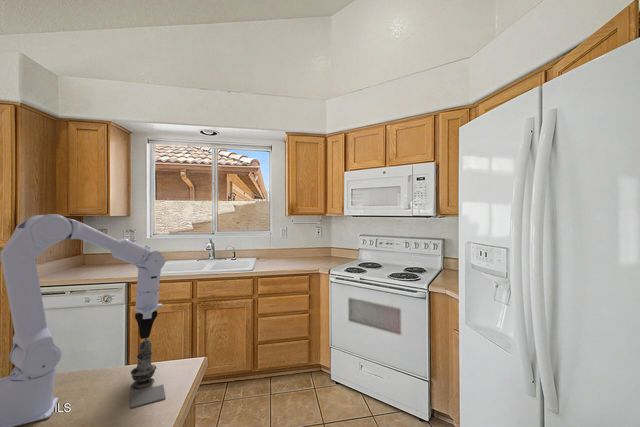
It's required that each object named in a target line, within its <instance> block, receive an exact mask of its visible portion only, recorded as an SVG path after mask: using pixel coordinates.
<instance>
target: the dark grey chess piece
mask: <svg viewBox="0 0 640 427" xmlns="http://www.w3.org/2000/svg"><path fill="white" fill-rule="evenodd" d="M152 355H153V352H152V341H151V340H148V338H144V340H143V341H141V342H140V343H139V347H138V354H137V356H136V358H137V365H136V367H135V368H132V370H130V375H131V378H132V380H133V381H134V382H132V384H131V385H130V388H131V389H133V390H143V389H146V388H149V387H150V386H152V385H153V384H154V383H155V379H154V378H152V377H153V376H154V374H155V372H156V370H157V366H156V365H155V364H152Z"/></svg>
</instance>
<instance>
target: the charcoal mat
mask: <svg viewBox="0 0 640 427" xmlns="http://www.w3.org/2000/svg"><path fill="white" fill-rule="evenodd" d="M164 400H166V392H165V387H164V384H159V385H156V386H151V387H146V388H142V389H138V390H136V391H131V392H130V409H134V408H137V407H141V406H146V405H149V404H152V403H157V402H159V401H164Z"/></svg>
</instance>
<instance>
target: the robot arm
mask: <svg viewBox="0 0 640 427" xmlns="http://www.w3.org/2000/svg"><path fill="white" fill-rule="evenodd" d="M65 239H66V240H67V239H68V240H80V241H83V242H86V243H89V244H92V245H94V246H97V247H100V248H103V249H106V250H108V251H110V253H111V256H112V257H113V258H115V259H118V260H120V261H123V262H125V263H129V264H131V265H132V266H135V267H136V268H137V269H138V271H137V279H136V280H137V282H136V293H135V306H134V309H133V310H134V311H135V312H136V313H135V314H134V318H135V320H136V322H137V325H138V332H139V337H140V340H143V339H144V340H145V338H147V339H149V338H150V335H151V332H152V328H153V325H154V323H155V320H156V319H157V317H158V310H157V309H159V308H162V307H163V303H159V298H160V296H159V295H160V294H159V293H160V280H161V273H162V272H161V271H162V268H163V267H164V266H165V263H166V259H165V258H164V255H163V253H161V252H160V251H158V250H151V246H150V247H149V246H148V245H145V246H144V245H142V244H139V243H137V242H136V239H134V238H130V237H129V238H122V239H121V238H120V239H117V238H114V237H112V236H110V235H108V234H106V233H104V232H102V231H100V230H98V229H96V228H94V227H91V226H89V225H87V224H86V223H83V222H81V221H78V220H76V219H72V218H67V217H65V216H63V215H61V214H55V213H52V214H51V213H49V214H37V215H36V214H35V215H33V216H30V217H27V218H26V219H25V220H24V221H21V223H19V224H18V225H16V227H15V230H14V231H13V233H12V234H11V236H10V238H9V239H8V241H7V242H6V244H5V245H4V246H3V248H2V249H1V251H0V262H1V267H2V269H1V270H2V273H3V278H4V283H5V289H6V294H7V300H8V306H9V310H10V316H11V321H12V327H13V332H14V334H13V336H12V348H11V351H10V352H9V358H8V359H9V361H10V363H11V364H12V365H14V367H13V369H12V371H11V372H10V374H9V375H7V376H3V377H0V427H17V426H21V425H26V424H28V423H33V422H37V421H42V420H46V419H49V418H50V417H52V413H53V411H54V409H55V407H56V405H57V404H58V403H57V402H58V401H59V397H54V394H55V393H54V392H55V383H56V373H57V372H56V370H57V365H58V364H59V363H60V361H61V357H62V351H61V349H60V347H59V346H57V345H56V344H55V342H54V340H53V335H52V334H51V331H50V329H49V328H48V325H47V324H48V323H47V319H46V313H45V307H44V301H43V297H42V296H43V295H42V290H41V286H40V280H39V274H38V268H37V263H36V258H38V257H39V256H40V255H41V254H42V253H43V252H44V251H45V250H47V249H48V248H49V247H52V246H53V245H56V244H57V243H59V242H61V241H64V240H65Z"/></svg>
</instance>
